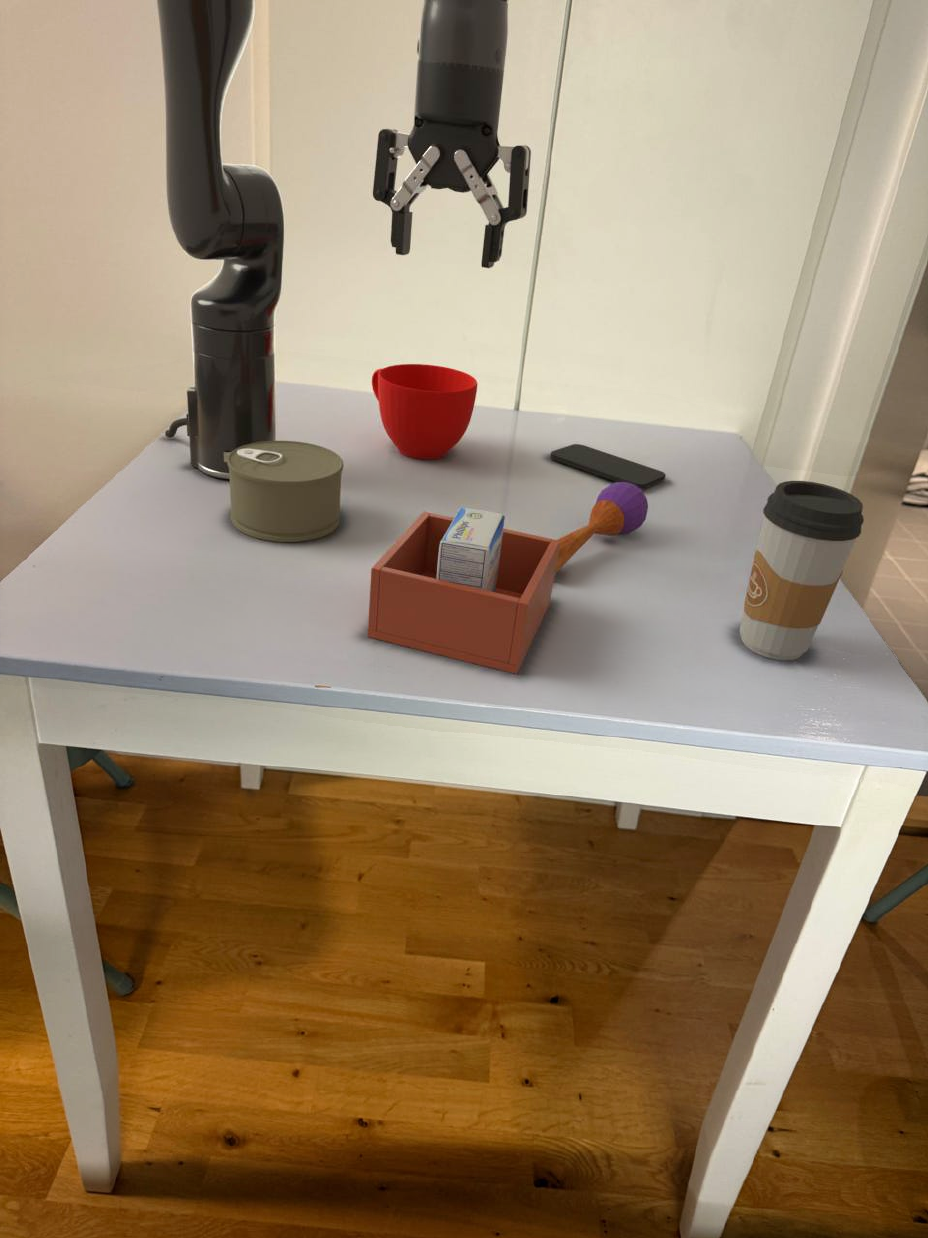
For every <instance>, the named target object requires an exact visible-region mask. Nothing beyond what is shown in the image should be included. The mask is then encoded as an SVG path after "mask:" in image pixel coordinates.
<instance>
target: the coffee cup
mask: <svg viewBox="0 0 928 1238" xmlns="http://www.w3.org/2000/svg"><path fill="white" fill-rule="evenodd" d="M863 508H864V506H863V503H862V501H861V500H860V499H859V498H858V497H856V496H855V495H853V494H851V493H849V492H848V491H845V490H844V489H840V488H838V487H835V486H831V485H827V484H824V483H819V482H815V481H806V480H788V481H787V480H786V481H783V482H780V483H779V484H778V485H776V487H775V489H774V492H773V493H771V494H770V495H768V497H767V500H766V504H765V505H764V506H763V509H762V510H763V511H762V514H763V515H764V516H763V520H762V525H761V529H760V534H759V539H758V543H757V548H756V550H755V551H754V557H753V562H752V567H751V571H750V575H749V580H748V585H747V590H746V594H745V598H744V605H743V612H742V617H741V621H740V625H739V634H740V639H741V642H742V644H744V646H745V647H747V648H748V649H749V650H750V651H752V652H754V653H755V654H758V655H759V656H762V657H765V658H769V659H772V660H777V661H794V660H796V659H799V658H801V657H802V656H803V654H805V653H807V651H808V650H809V648H810V647H811V643H812V641H813V639H814V637H815V634H816V632H817V630H818V627H819V625H820V624H821V623H822V620H823V619H824V616H825V613H826V611H827V609H828V607H829V604H830V603H831V600H832V599H833V595H834V593H835V590H836V588H837V586H838V584H839V582H840V579H841V578H842V575H843V571H844V568H845V565H846V563H847V560H848V558H849V555H850V553H851V551H852V549H853V547H854V544H855V542H856V539H857V538H859V537H860V535H861V534H862V526H863V524H864V521H865V519H864V515H863V514H862V513H863Z"/></svg>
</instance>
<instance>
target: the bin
mask: <svg viewBox="0 0 928 1238" xmlns="http://www.w3.org/2000/svg"><path fill="white" fill-rule="evenodd" d="M454 518H455V517H453V516H448V515H443V514H438V513H434V512H429V511H423V512H421V514H420V515H418V516H417V518H416V519H415V520H414V521H413V522H412V523H411V524H410V525H409V526H408V528H407V529H406V530H405V531H404V532H403V533H402V534H401V535H400V537H399V538H398V539H397V540H396V541H395V542H394V543H393V544H392V546H390V547H389V549H387V551H386V552H385V553H384V554H383V555H382V556H381V557H380V558H379V559H378V561H376V563H375V564H374V565H373V566H371V571H370V586H369V588H370V589H369V603H368V604H369V605H368V623H367V637H368V638H369V639H370V638H371V639H375V640H378V641H383V642H387V643H390V644H394V645H400V646H403V647H406V648H410V649H415V650H419V651H423V652H427V653H432V654H435V655H439V656H444V657H448V658H451V659H456V660H459V661H462V662H467V663H470V664H475V665H480V666H482V667H487V668H492V669H495V670H499V671H503V672H508V673H510V674H511V673H512V674H515V675H516V674H518V672H519V671H520V668H521V666H522V663H523V662H524V659H525V657H526V655H527V653H528V651H529V649H530V646H531V644H532V643H533V640H534V638H535V636H536V634H537V631H538V630H539V627H540V625H541V623H542V621H543V619H544V617H545V615H546V613H547V610H548V608H549V606H550V604H551V599H552V594H553V587H554V581H555V576H556V573H555V570H556V564H557V558H558V553H559V547H560V541H559V540H557V539H555V538H550V537H545V536H540V535H537V534H536V535H535V534H530V533H526V532H521V531H516V530H512V529H507V528H503V536H502V543H501V551H500V559H499V567H498V575H497V582H496V590H495V592H491V591H486V590H482V589H478V588H473V587H469V586H465V585H460V584H456V583H452V582H447V581H443V580H439V579H437V567H438V555H439V547H440V541H441V540H442V539H443V537H444V535H445V534H446V532H447V530H448V528H449V527H450V525H451V523H452V521H453V520H454Z"/></svg>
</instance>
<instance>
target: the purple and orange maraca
mask: <svg viewBox="0 0 928 1238" xmlns="http://www.w3.org/2000/svg"><path fill="white" fill-rule="evenodd" d="M648 511H649V501H648V498H647V496H646V494H645V493H644V491H643V489H640V488H638V487H637V486H636V485H633V484H630V483H627V482H613V483H611V484H610V485H608V486H606V487H604V488H603V489H602V490H601V491H600V492H599V494H598V495H597V497H596V501H595V503H594V505H593V506H592V508H591V511H590V516H589V521H588V525H585V526H584V527H581V528H579V529H576V530H574V531H572V532H570V533H568V534H566V535H563V536H561V537H559V538H556V540H559V541H560V547H559V553H558V558H557V564H556V570H555V574H556V573H557V572H558V571H560V569H562V567H563V566H564V565H566V564H567V562H569V560H570V559H571V558H572V557H573V556H574V555H575V554H576V553H577V552H578V551H579V550H580V549H581V548H582V547H583V546H584V545H585V544H586V543H587V542H588V541H589V540H590V539H591V538H592V537H593V536H594V535H601V536H607V537H608V536H616V535H629V534H631V533H633V532H635V531H637V530H638V529H639V528H640V527H641V526H642V525H643V524H644V523H645V521H646V520H647V515H648Z"/></svg>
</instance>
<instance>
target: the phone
mask: <svg viewBox="0 0 928 1238" xmlns="http://www.w3.org/2000/svg"><path fill="white" fill-rule="evenodd" d="M549 457H550V459H551V460H553V461H556V462H559V463H562V464H564V465H567V466H569V467H573V468H576V469H578V470H581V471H584V472H587V473H589V474H593V475H595V476H598V477H601V478H604V479H605V480H609V481H612V482H614V483H616V482H627V483H630V484H633V485H636V486H637V487H638V488H640V489H641V490H644V489H648V488H650V487H652V486H654V485H656V484H659V483H661V482H663V481H665V480H666V473H665V472H664V471H662V470H659V469H656V468H653V467H649V466H646V465H644V464H640V463H638V462H634V461H632V460H630V459H627V458H623V457H620V456H617V455H614V454H611V453H608V452H606V451H602V450H599V449H596V448H593V447H590V446H587V445H584V444H580V443H574V444H569V445H567V446H563V447H561V448H558V449H555V450H553V451H551V452H550V456H549Z"/></svg>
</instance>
